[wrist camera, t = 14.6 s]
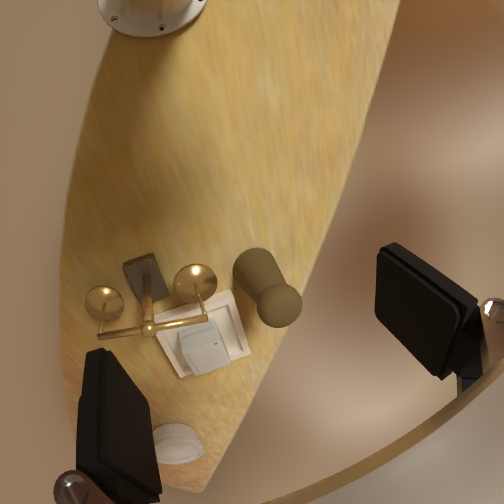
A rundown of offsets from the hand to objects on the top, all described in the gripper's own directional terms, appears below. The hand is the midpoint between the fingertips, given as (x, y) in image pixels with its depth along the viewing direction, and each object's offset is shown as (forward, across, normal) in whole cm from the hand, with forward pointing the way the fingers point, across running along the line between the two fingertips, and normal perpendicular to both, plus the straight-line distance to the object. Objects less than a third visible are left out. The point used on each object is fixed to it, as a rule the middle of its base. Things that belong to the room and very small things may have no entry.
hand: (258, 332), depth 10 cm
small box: (+28, +4, +24) cm, 37 cm away
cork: (+28, -6, +16) cm, 33 cm away
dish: (+28, +4, +24) cm, 37 cm away
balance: (+28, +8, +12) cm, 32 cm away
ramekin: (+29, +19, +48) cm, 59 cm away
